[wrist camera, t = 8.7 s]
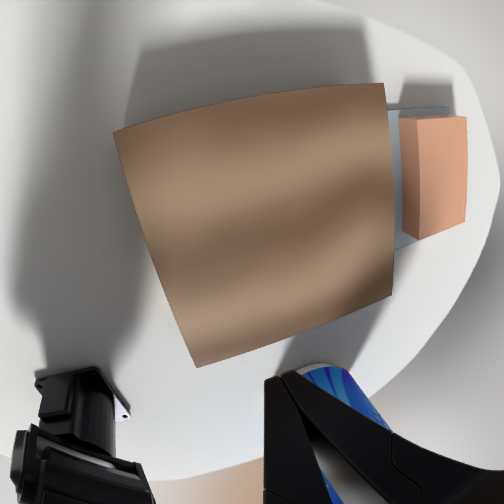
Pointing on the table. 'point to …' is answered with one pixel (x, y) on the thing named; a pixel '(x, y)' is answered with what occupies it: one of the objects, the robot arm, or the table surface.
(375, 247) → the brown box
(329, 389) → the beer can
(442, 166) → the peach rectangular block
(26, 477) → the robot arm
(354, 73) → the table surface
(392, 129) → the mat
